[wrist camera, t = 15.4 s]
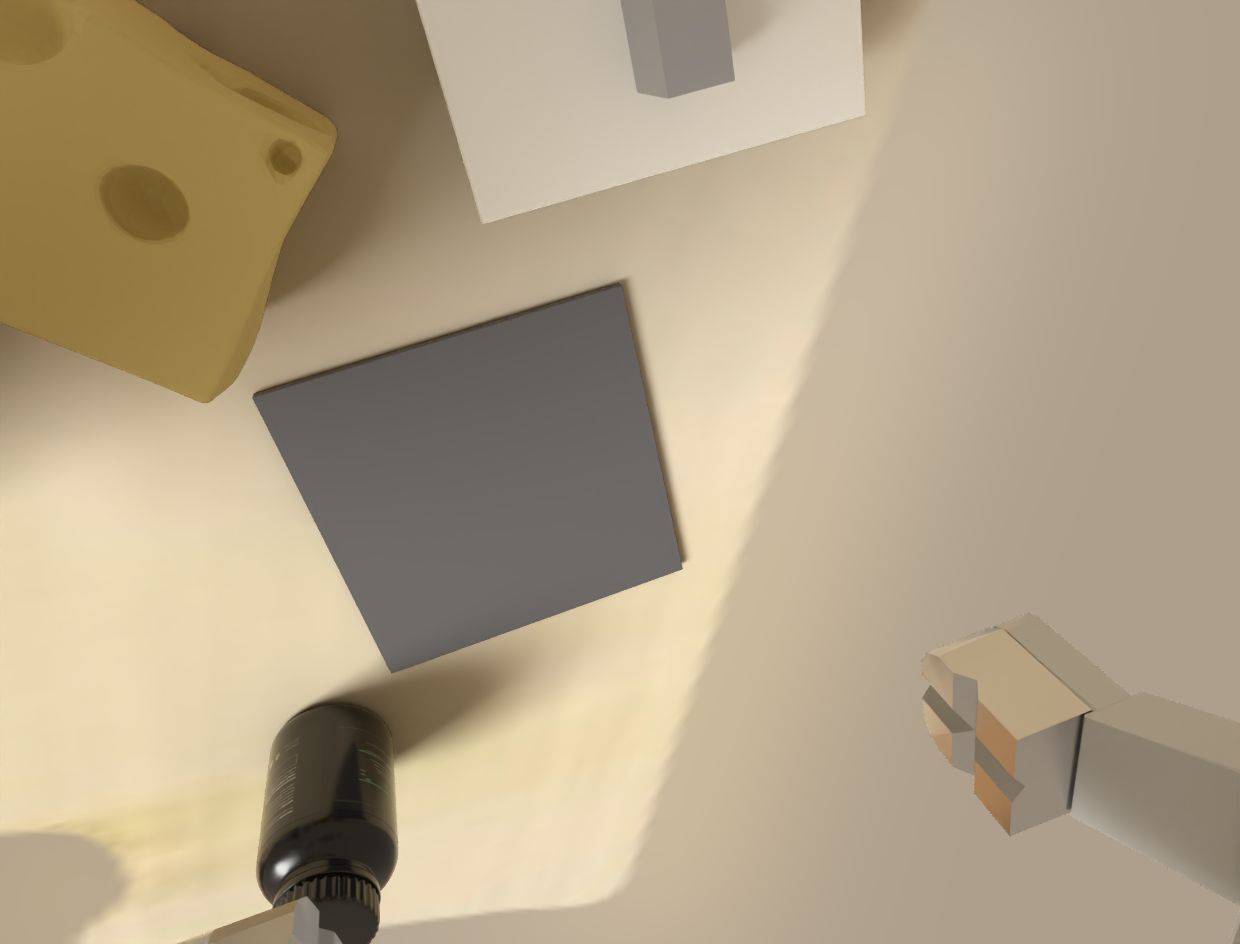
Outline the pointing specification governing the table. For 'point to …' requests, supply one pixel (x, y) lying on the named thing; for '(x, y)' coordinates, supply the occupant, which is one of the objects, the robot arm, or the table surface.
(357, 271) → the table surface
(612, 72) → the square lid
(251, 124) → the cheese
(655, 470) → the mat
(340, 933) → the supplement bottle
